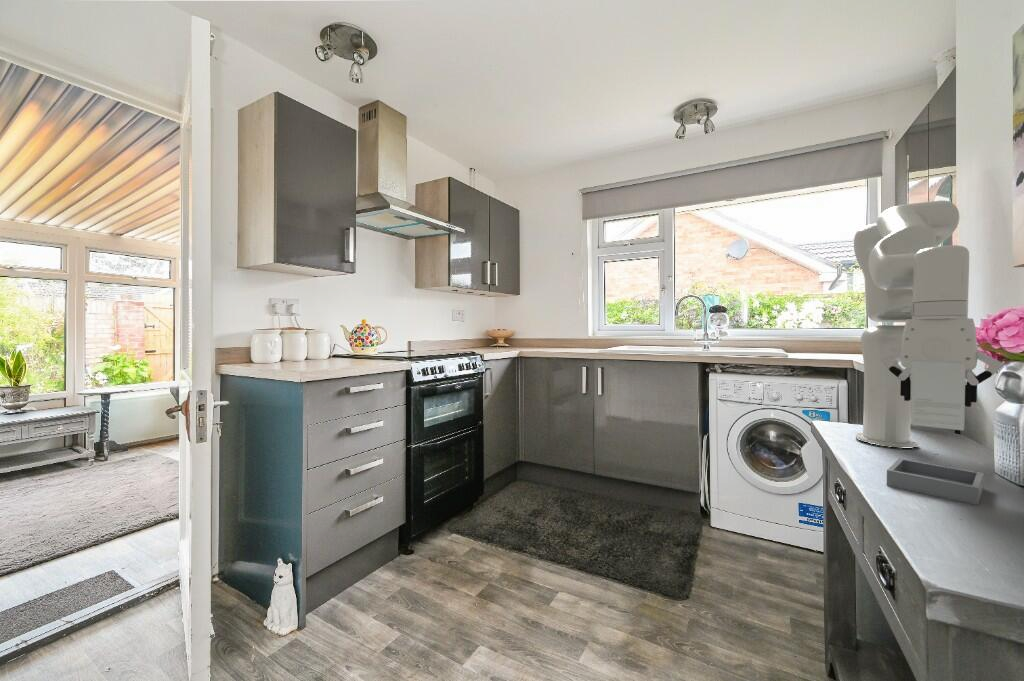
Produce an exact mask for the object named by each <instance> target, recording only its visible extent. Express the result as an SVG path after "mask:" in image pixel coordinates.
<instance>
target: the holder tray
mask: <svg viewBox="0 0 1024 681" xmlns="http://www.w3.org/2000/svg"><path fill="white" fill-rule="evenodd" d="M886 486H888V487H892V488H893V487H894V488H898V489H902V490H906V491H911V492H912V491H913V492H916V493H920V494H925V495H930V496H935V497H938V498H939V497H940V498H944V499H948V500H952V501H957V502H962V503H966V504H969V505H970V504H971V505H977V506H979V504H980V500H981V497H982V494H983V491H984V490H983V489H984V472H978V471H973V470H967V469H962V468H957V467H950V466H945V465H939V464H934V463H928V462H923V461H917V460H911V459H905V458H901V457H900V458H899V457H898V459H897V460H895V461H894V463H893V464H892V465H890V466H889V467H888V469H886Z"/></svg>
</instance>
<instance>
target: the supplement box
mask: <svg viewBox="0 0 1024 681" xmlns="http://www.w3.org/2000/svg"><path fill="white" fill-rule="evenodd" d="M910 364H911V376H910V378H911V421H910V426H920V427H926V428H937V429H946V430H955V431H965V424H966V422H965V419H966V418H965V416H966V413H965V412H966V411H965V410H966V408H965V407H966V406H965V385H966V378H965V367H966V364H965V362H946V361H910Z"/></svg>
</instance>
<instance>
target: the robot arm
mask: <svg viewBox="0 0 1024 681" xmlns="http://www.w3.org/2000/svg"><path fill="white" fill-rule="evenodd" d="M959 222H960V211H959V209H958V207H957V205H956V204H954V203H953V202H952V201H949V200H942V199H941V200H933V201H923V202H914V203H905V204H899V205H895V206H892V207H890V208H888V209H885V210H884V211H883V212H882V213H880V215H879V216H878V218H877V221H876V223H872V224H868V225H867V224H866V225H864V226H862V227H861V228H859V229H858V230H857V231H856V232H855V234H854V237H853V250H854V255H855V258H856V261H857V263H858V265H859V268H860V269H861V272H862V273H863V276H864V277H863V278H864V294H865V295H864V296H865V309H866V315H867V317H868V318H869V319H870V320H871V321H874V322H877V323H905V324H904V325H903V324H901V325H899V324H898V325H897V324H896V325H895V324H893V325H891V324H889V325H875V326H871V327H869V328H867V329H865V330H864V331H863V332H862V334H861V337H860V346H861V353H862V359H863V369H864V370H863V372H864V373H863V374H864V375H863V378H864V379H863V410H862V411H863V413H862V414H863V418H862V419H863V420H862V422H863V423H862V432H858V433H856V434H855V439H856V438H858V439H860V440H862V441H866V442H870V443H875V444H879V445H885V446H891V447H917V446H918V447H919V442H918V441H917V440H914V439H911V364H910V361H946V362H965V364H966V367H965V381H967V382H966V384H965V407H968V408H970V407H971V406H972V403H977V402H978V385H979V384H981V383H982V382H984V381H986V380H988V379H989V378H992V376H994V374H996V373H997V372H998V371H1000V370H1001V369H1002V368H1003V367H1004V363H1002V362H1001V361H999V360H997V359H995V358H993V357H991V356H990V355H988V354H986V353H984V352H982V351H980V350H978V339H977V338H978V337H977V331H976V326H975V325H976V324H975V321H974V318H969V316H968V315H969V313H968V312H969V288H970V287H969V281H970V278H969V277H970V251H969V249H968V248H967V247H966V246H963V245H941V244H943V242H945V241H946V240H947V239H948V238H949V237H951V235H953V233H955V231H956V229H957V228H958V225H959ZM978 360H979V361H980V362H982V363H985V364H986V365H987V366H988V367H987V368H986V369H985V370H983V371H982V372H980V373H979V374H977V375H976V374H975V373H974V372H973V371H974V369H976V368H977V363H978ZM899 363H900V364H901V365H900V364H899ZM918 447H917V448H918Z"/></svg>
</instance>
